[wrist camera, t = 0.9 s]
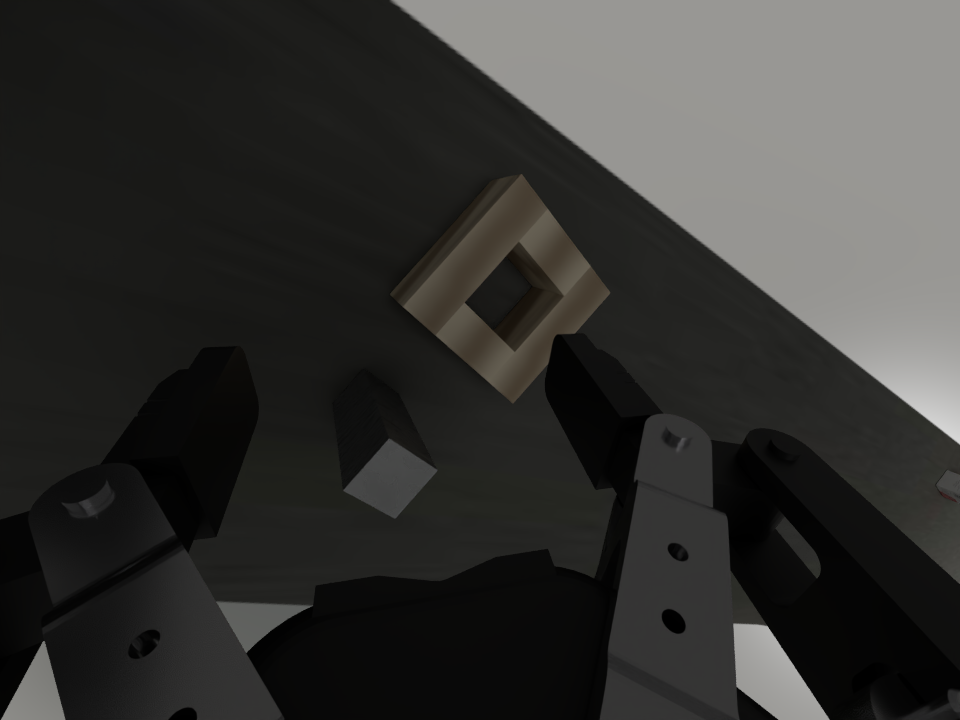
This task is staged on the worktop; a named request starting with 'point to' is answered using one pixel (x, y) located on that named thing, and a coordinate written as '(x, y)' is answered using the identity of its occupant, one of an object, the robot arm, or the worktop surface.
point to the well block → (468, 262)
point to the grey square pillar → (379, 446)
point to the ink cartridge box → (950, 486)
